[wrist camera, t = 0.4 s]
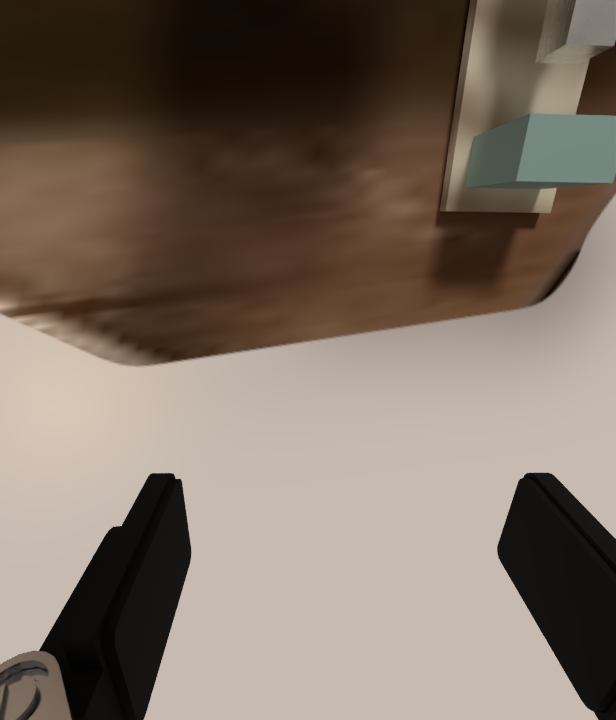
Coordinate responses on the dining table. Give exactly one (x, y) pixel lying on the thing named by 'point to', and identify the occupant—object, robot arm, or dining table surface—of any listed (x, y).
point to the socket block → (545, 153)
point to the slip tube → (576, 30)
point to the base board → (504, 97)
